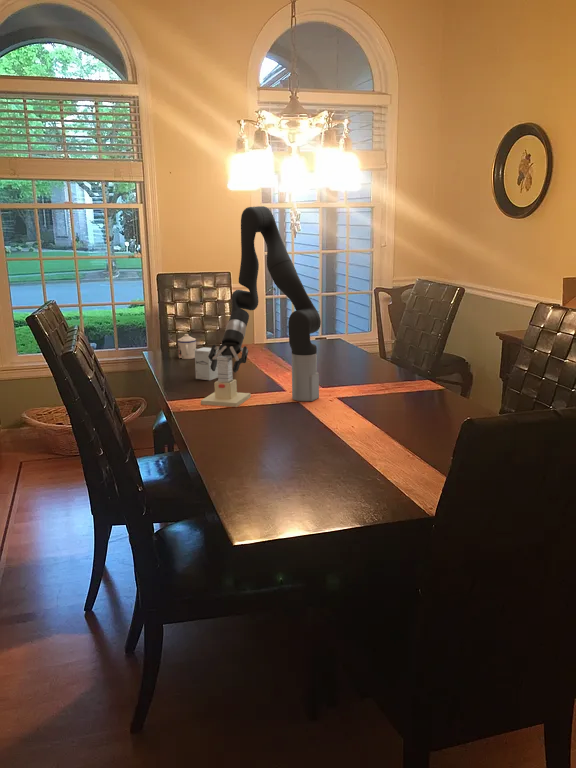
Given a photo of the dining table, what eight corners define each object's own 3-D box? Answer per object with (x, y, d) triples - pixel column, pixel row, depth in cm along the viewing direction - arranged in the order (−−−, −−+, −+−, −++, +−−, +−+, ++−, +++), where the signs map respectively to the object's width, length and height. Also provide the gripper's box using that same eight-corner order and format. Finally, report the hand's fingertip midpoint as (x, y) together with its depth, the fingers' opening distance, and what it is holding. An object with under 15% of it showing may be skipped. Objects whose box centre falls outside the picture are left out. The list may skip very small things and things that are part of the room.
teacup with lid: (178, 356, 323) (177, 332, 320) (197, 355, 324) (195, 332, 322) (177, 361, 312) (176, 337, 309) (196, 360, 313) (195, 336, 310)
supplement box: (195, 379, 275) (193, 349, 272) (205, 375, 281) (203, 346, 278) (209, 381, 272) (208, 351, 269) (219, 377, 278) (218, 348, 275)
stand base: (250, 397, 246) (250, 377, 244) (236, 407, 233) (236, 386, 231) (216, 394, 250) (215, 375, 248) (200, 404, 237) (200, 384, 235)
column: (233, 394, 242) (232, 355, 238) (229, 397, 238) (227, 357, 234) (223, 394, 243) (221, 354, 240) (218, 397, 239) (216, 357, 236)
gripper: (213, 327, 244) (202, 364, 236) (249, 329, 240) (238, 366, 232) (220, 339, 250) (209, 375, 242) (254, 341, 246) (244, 377, 238)
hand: (223, 370), depth 237 cm, fingers open, 8 cm apart
